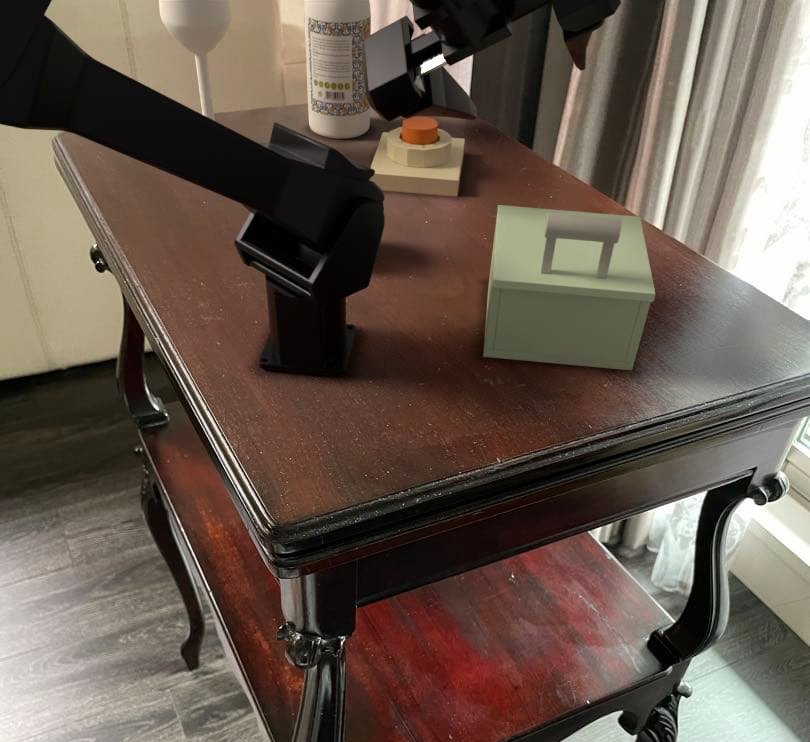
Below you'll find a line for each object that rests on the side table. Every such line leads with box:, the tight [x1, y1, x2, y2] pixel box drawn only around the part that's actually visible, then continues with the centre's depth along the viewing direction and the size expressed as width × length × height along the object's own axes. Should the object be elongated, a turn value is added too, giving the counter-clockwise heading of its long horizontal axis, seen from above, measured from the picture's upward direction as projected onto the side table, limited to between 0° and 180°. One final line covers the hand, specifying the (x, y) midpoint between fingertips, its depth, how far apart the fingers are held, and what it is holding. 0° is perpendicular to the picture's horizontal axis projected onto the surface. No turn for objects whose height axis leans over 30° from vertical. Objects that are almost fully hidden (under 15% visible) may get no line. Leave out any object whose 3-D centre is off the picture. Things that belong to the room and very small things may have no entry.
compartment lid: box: [492, 204, 656, 303], centre depth 62 cm, size 12×11×5 cm
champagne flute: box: [158, 0, 233, 121], centre depth 81 cm, size 7×7×24 cm
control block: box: [370, 126, 466, 197], centre depth 87 cm, size 11×9×4 cm
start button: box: [401, 116, 439, 145], centre depth 86 cm, size 4×4×2 cm
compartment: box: [482, 217, 652, 371], centre depth 66 cm, size 11×11×6 cm
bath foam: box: [303, 0, 372, 140], centre depth 89 cm, size 7×7×20 cm
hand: (526, 89), depth 67 cm, fingers open, 9 cm apart
